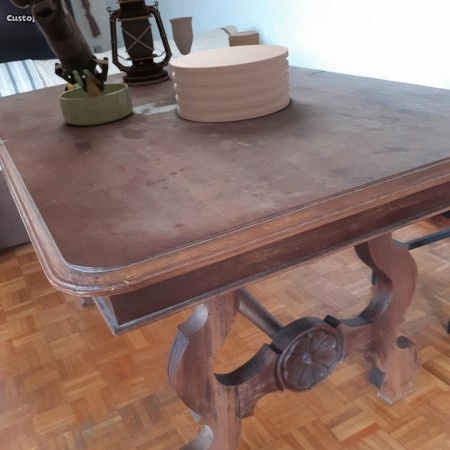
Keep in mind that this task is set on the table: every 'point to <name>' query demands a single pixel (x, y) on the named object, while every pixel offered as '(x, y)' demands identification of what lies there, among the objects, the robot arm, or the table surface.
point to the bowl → (96, 105)
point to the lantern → (139, 42)
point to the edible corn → (71, 86)
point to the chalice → (182, 34)
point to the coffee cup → (244, 38)
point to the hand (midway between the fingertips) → (95, 89)
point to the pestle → (91, 87)
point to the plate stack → (231, 83)
